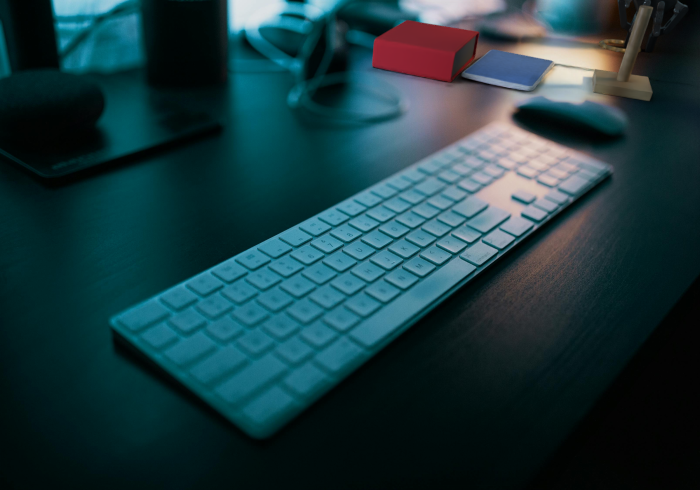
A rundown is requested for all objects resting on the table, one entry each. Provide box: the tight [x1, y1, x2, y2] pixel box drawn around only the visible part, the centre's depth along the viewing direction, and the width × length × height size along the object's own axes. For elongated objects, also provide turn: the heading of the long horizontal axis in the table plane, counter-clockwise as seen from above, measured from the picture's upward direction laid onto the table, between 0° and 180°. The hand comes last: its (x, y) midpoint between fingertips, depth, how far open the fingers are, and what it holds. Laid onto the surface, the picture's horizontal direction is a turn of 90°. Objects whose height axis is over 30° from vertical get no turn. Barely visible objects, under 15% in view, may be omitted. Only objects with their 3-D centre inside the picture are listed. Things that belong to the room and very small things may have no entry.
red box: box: [371, 19, 480, 83], centre depth 106 cm, size 18×14×5 cm
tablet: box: [461, 49, 555, 92], centre depth 105 cm, size 19×13×1 cm, turn 153°
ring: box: [598, 38, 642, 54], centre depth 123 cm, size 8×8×1 cm
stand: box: [592, 5, 653, 102], centre depth 98 cm, size 9×9×14 cm
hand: (636, 51), depth 122 cm, fingers open, 3 cm apart
